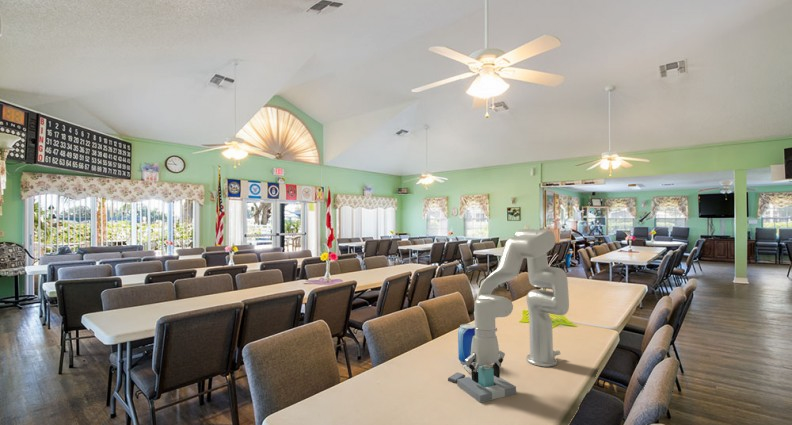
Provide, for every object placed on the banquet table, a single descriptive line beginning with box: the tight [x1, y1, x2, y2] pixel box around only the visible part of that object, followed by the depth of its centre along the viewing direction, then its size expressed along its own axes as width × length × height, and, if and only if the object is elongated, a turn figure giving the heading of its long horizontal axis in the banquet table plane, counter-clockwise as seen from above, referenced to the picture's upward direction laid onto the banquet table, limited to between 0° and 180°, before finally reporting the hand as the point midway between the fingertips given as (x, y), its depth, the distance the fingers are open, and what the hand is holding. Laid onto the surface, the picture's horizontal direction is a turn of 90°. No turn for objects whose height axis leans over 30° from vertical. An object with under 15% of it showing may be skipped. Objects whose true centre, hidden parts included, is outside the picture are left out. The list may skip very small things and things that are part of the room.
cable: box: [462, 364, 472, 376], centre depth 146 cm, size 11×1×1 cm, turn 9°
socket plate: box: [456, 375, 517, 403], centre depth 131 cm, size 16×14×2 cm
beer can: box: [457, 323, 475, 366], centre depth 157 cm, size 8×8×16 cm
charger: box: [477, 364, 494, 388], centre depth 132 cm, size 4×4×8 cm
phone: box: [447, 372, 466, 384], centre depth 140 cm, size 7×4×1 cm, turn 139°
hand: (485, 378), depth 131 cm, fingers open, 9 cm apart
